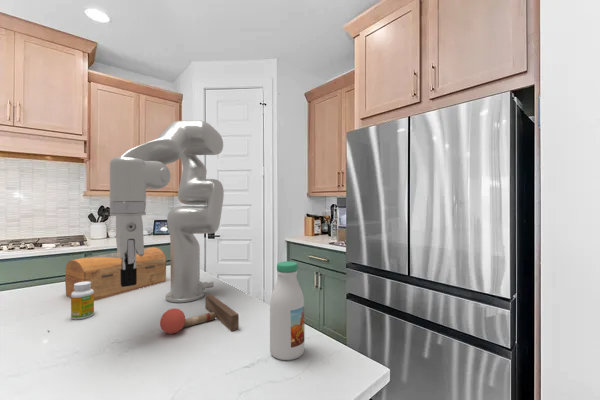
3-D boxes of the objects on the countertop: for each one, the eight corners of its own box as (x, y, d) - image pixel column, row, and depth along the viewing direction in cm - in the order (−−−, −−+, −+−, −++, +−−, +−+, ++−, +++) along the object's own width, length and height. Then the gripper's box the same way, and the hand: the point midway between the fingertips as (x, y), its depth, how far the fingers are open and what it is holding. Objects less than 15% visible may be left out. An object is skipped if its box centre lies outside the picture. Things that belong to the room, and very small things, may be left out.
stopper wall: (211, 306, 94) (211, 294, 94) (238, 329, 78) (238, 314, 78) (205, 308, 93) (205, 295, 93) (231, 331, 77) (231, 316, 77)
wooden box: (144, 276, 131) (144, 245, 131) (167, 282, 123) (167, 248, 123) (62, 295, 106) (62, 256, 106) (84, 304, 97) (84, 262, 97)
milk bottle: (278, 365, 61) (278, 268, 61) (264, 348, 68) (264, 261, 68) (310, 355, 65) (310, 264, 65) (294, 340, 72) (294, 258, 72)
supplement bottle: (81, 320, 84) (81, 286, 83) (66, 319, 85) (65, 285, 85) (98, 313, 89) (98, 281, 89) (83, 312, 90) (83, 280, 90)
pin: (180, 326, 80) (212, 317, 86) (182, 329, 78) (215, 320, 84) (180, 318, 80) (212, 310, 85) (183, 321, 78) (215, 313, 84)
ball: (172, 300, 78) (153, 317, 77) (175, 310, 73) (155, 329, 72) (188, 313, 81) (170, 330, 79) (192, 324, 76) (173, 342, 74)
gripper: (151, 209, 68) (151, 290, 68) (140, 208, 80) (141, 276, 80) (112, 210, 63) (112, 296, 64) (107, 208, 75) (108, 280, 76)
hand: (128, 285), depth 72 cm, fingers closed
